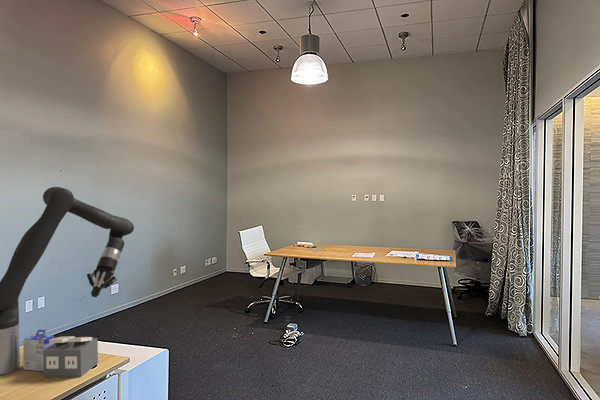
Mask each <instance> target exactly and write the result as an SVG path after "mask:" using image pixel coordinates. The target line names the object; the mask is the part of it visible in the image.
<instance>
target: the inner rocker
mask: <svg viewBox="0 0 600 400" xmlns="http://www.w3.org/2000/svg"><path fill="white" fill-rule="evenodd" d="M68 338H76V336H75V335H73V336H72V335H71V336H70V335H68V336H66V335H64V336H59V337H54V339H50V340H49V343H54V344H55V343H64V342H67V341H68Z"/></svg>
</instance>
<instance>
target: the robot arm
mask: <svg viewBox="0 0 600 400" xmlns="http://www.w3.org/2000/svg"><path fill="white" fill-rule="evenodd" d="M42 200H43V202H44V204H45V205H46V206H45V209H44V210H43V212H42V214H41V216H40V217H39V219H37V220H36V222H35V223H33V225H32V226H30V227H29V228H28V229H27V231H26V232H25V233H24V234H23V236H22V237H21V239H20V241H19V242H18V244H17V245H16V248H15V250H14V252H13V254H12V257H11V258H10V261H9V264H8V267H7V269H6V272H5V273H4V275H3V277H2V278H1V279H0V375H1V376H2V375H7V374H10V373H13V372H15V371H17V370H19V369H20V368H21V356H20V355H21V353H20V352H21V350H20V349H21V348H20V345H21V344H20V312H19V311H20V308H19V298H20V295H21V293H22V290H23V288H24V286H25V283H26V282H27V280H28V278H29V276H30V274H31V273H32V272H33V270H34V269H35V267H36V265H38V263H39V261H40V259H41V258H42V256H44V253H45V252H46V250H47V247H48V245H49V244H50V241H52V240H51V239H52V238H53V237H54V234H55V233H56V231H57V228H58V227H59V226H60V223H61V221H62V220H63V219H64V217H65V216H66V214H67V213H70V214H73V215H75V216H77V217H80V218H81V219H84V220H85V221H87V222H89V223H90V224H93V225H95V226H97V227H100V228H102V229H105V230H109V234H108V242H107V243H106V246H105V248H104V249H103V251H102V253H101V255H100V257H99V260H98V263H97V264H96V268H95V269H94V270H93V272H92V273H87V274H86V277H87V280H88V283H89V285H90V286H91V287H92V289H91V292H90V295H91V297H92V298H97V297H98V296H99V295H100V293H101V291H102V289H104V290H105V289H107V288H109V287H110V286H111V285H113V284H114V283H116V281H117V280H118V279H117V277H116V276H114V275H115V271H116V268H117V267H118V263H119V261H120V258H121V255H122V252H123V249H124V246H125V241H124V239H123V237H125V236H128V235H130V234H132V233H133V232H134V230H135V225H134V224H133V222H131V220H129V219H128V218H125V217H120V216H117V215H113V214H111V213H109V212H107V211H105V210H103V209H100V208H98V207H95V206H93V205H91V204H88V203H86V202H83V201H82V200H79V199H77V198H75V197H74V194H73V193H72V191H71V190H70V189H67V188H64V187H61V186H60V187H59V186H52V187H49V188H47V189H46V190H45V191H44V192H43V194H42Z"/></svg>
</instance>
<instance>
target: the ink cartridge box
mask: <svg viewBox="0 0 600 400" xmlns="http://www.w3.org/2000/svg"><path fill="white" fill-rule="evenodd" d="M46 331H47V330H46V329H38V330H37V332H36V333H35V334H32V335H30V336H27V337H25V338H23V340H22V342H23V344H22V345H23V348H22V349H23V355H22V356H23V361H22V362H23V363H22V364H23V366H22V367H23V370H25V371H27V370H28V371H36V372H37V371H38V372H44V365H43V350H45V349H46V348H48V347H50V346H51V345H53V344H55V343H49V340H50V339H54V338H55V335H47V334H46ZM41 332H42V333H41Z"/></svg>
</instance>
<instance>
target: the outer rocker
mask: <svg viewBox="0 0 600 400" xmlns="http://www.w3.org/2000/svg"><path fill="white" fill-rule="evenodd" d="M92 338H93V336H92V337H91V336H78V337H75V338H68V342H83V341H91V340H92Z"/></svg>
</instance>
